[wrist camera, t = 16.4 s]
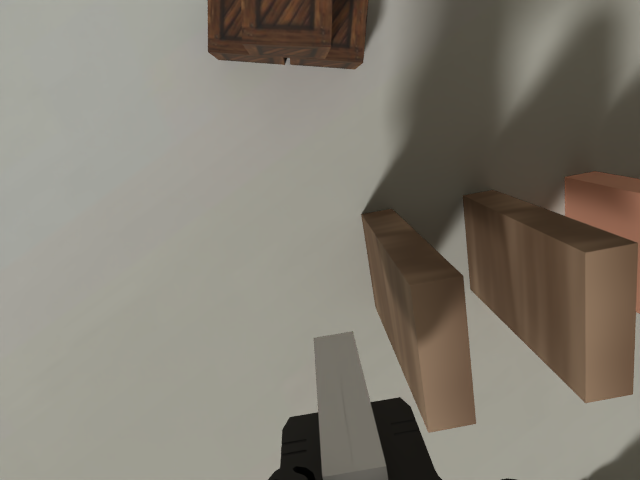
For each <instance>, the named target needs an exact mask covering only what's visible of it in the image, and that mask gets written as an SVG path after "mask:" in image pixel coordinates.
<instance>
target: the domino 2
mask: <svg viewBox="0 0 640 480" xmlns="http://www.w3.org/2000/svg"><path fill="white" fill-rule="evenodd" d="M463 205H464V217H465V229H466V241H467V253H468V265H469V277H470V289H471V290H472V291H473V292H474V293H475V294H476V295H477V296H478V297H479V298H480V299H481V300H482V301H483V302H484V303H485V304H486V305H487V306H488V307H489V308H490V309H491V310H492V311H493V312H494V313H495V314H496V315H497V316H498V317H499V318H500V319H501V320H502V321H503V322H504V323H505V324H506V325H507V326H508V327H509V328H510V329H511V330H512V331H513V332H514V333H515V334H516V335H517V336H518V337H519V338H520V339H521V340H522V341H523V342H524V343H525V344H526V345H527V346H528V347H529V348H530V349H531V350H532V351H533V352H534V353H535V354H536V355H537V356H538V357H539V358H540V359H541V360H542V361H543V362H544V363H545V364H546V365H547V366H548V367H550V368H551V369H552V370H553V371H554V372H555V373H556V374H557V375H558V376H559V377H560V378H561V379H562V380H563V381H564V382H565V383H566V384H567V385H568V386H569V387H570V388H571V389H572V390H573V391H574V392H575V393H576V394H577V395H578V396H579V397H580V398H581V399H582V400H583V401H584V402H585V403H589V402H594V401H600V400H605V399H610V398H616V397H621V396H626V395H632V394H633V378H634V350H635V321H636V293H637V265H638V243H637V242H634V241H632V240H629V239H626V238H623V237H621V236H618V235H615V234H613V233H610V232H607V231H604V230H602V229H599V228H596V227H593V226H591V225H588V224H585V223H582V222H580V221H577V220H574V219H572V218H569V217H566V216H563V215H561V214H558V213H555V212H552V211H550V210H547V209H544V208H541V207H539V206H536V205H533V204H531V203H528V202H525V201H522V200H520V199H517V198H514V197H511V196H509V195H506V194H503V193H500V192H498V191H495V190H489V191H484V192H479V193H473V194H468V195H463Z"/></svg>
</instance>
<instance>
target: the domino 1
mask: <svg viewBox="0 0 640 480" xmlns="http://www.w3.org/2000/svg"><path fill="white" fill-rule="evenodd" d="M361 215H362V222H363V228H364V235H365V241H366V248H367V254H368V261H369V267H370V274H371V280H372V287H373V293H374V300H375V307H376V309H377V312H378V314H379V316H380V319H381V321H382V324H383V326H384V328H385V331H386V333H387V335H388V338H389V340H390V342H391V345H392V347H393V350H394V352H395V354H396V357H397V359H398V361H399V364H400V366H401V368H402V371H403V373H404V376H405V378H406V380H407V383H408V385H409V387H410V390H411V392H412V394H413V397H414V399H415V401H416V404H417V406H418V409H419V411H420V413H421V416H422V418H423V420H424V423H425V425H426V427H427V430H428V432H435V431H440V430H445V429H451V428H456V427H461V426H467V425H472V424H476V417H475V406H474V395H473V383H472V372H471V360H470V349H469V338H468V326H467V315H466V303H465V292H464V280H463V275H462V274H461V273H460V272H459V271H458V270H457V269H455V268H454V267H453V266H452V265H451V264H450V263H449V262H448V261H447V260H446V259H445V258H444V257H443V256H442V255H441V254H440V253H438V252H437V251H436V250H435V249H434V248H433V247H432V246H431V245H430V244H429V243H428V242H427V241H426V240H425V239H424V238H423V237H421V236H420V235H419V234H418V233H417V232H416V231H415V230H414V229H413V228H412V227H411V226H410V225H409V224H408V223H407V222H406V221H404V220H403V219H402V218H401V217H400V216H399V215H398V214H397V213H396V212H395V211H394V210H393V209H387V210H382V211H376V212H371V213H365V214H361Z"/></svg>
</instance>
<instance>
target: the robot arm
mask: <svg viewBox="0 0 640 480" xmlns="http://www.w3.org/2000/svg"><path fill="white" fill-rule="evenodd" d="M314 351H315V367H316V383H317V399H318V413H312V414H306V415H300V416H294V417H290V418H289V419H288V421H287V423H286V425H285V426H284V428H283V430H282V447H281V465H280V469H278V470H277V471H275V472H274V473H273V474H272V476H271V477H270V478H269V479H268V480H442V479H441V478H440V477H439V476H438V474H437V473H436V471H435V469H434V466H433V464H432V461H431V459H430V456H429V453H428V451H427V448H426V446H425V443H424V440H423V438H422V435H421V433H420V431H419V427H418V425H417V422H416V420H415V417H414V414H413V412H412V409H411V407H410V406H409V405H408V404H407V403H406V402H405V401H403V400H402V399H401V398H400V397H399V398H393V399H387V400H381V401H376V402H370V399H369V395H368V391H367V387H366V383H365V379H364V375H363V371H362V367H361V363H360V359H359V355H358V351H357V347H356V343H355V339H354V335H353V331H352V332H346V333H340V334H334V335H328V336H323V337H317V338H314ZM502 480H515V479H502Z"/></svg>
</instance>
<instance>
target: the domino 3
mask: <svg viewBox="0 0 640 480" xmlns="http://www.w3.org/2000/svg"><path fill="white" fill-rule="evenodd" d="M565 216H566V217H569V218H572V219H574V220H577V221H580V222H582V223H585V224H588V225H591V226H593V227H596V228H599V229H602V230H604V231H607V232H610V233H613V234H615V235H618V236H621V237H623V238H626V239H629V240H632V241H634V242H637V243H638V265H637V293H636V312H637V313H639V314H640V179H636V178H630V177H625V176H619V175H614V174H608V173H602V172H597V171H594V172H588V173H583V174H578V175H572V176H567V177H565Z"/></svg>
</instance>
